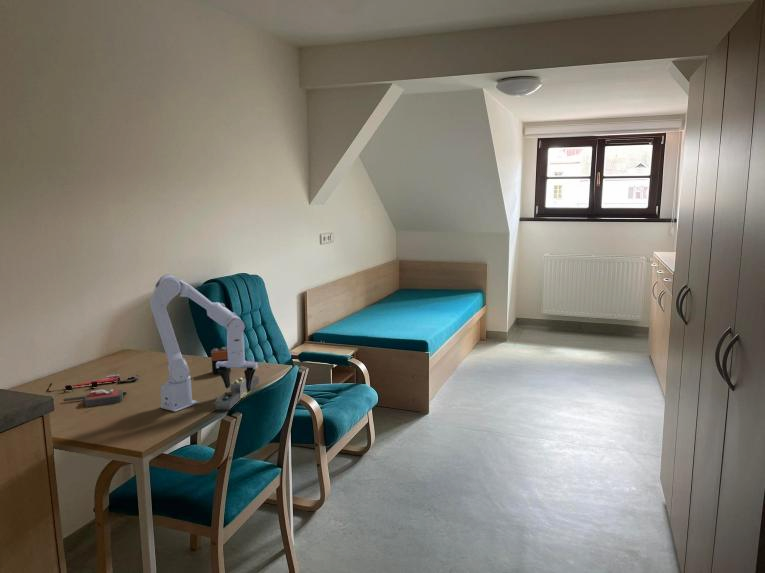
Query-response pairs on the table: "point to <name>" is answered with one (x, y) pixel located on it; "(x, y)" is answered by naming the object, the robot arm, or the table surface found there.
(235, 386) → the block with brass knobs
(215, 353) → the battery
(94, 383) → the red black toy gun
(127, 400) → the table surface
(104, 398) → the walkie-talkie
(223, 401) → the studded link strip
